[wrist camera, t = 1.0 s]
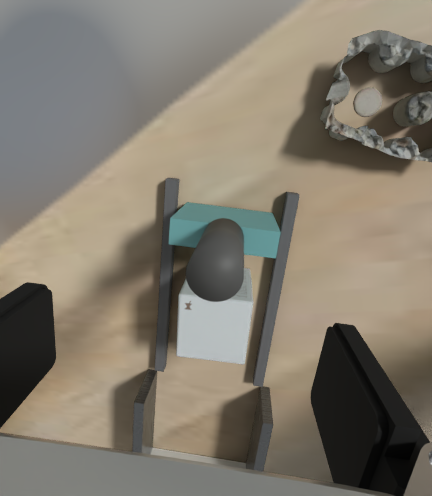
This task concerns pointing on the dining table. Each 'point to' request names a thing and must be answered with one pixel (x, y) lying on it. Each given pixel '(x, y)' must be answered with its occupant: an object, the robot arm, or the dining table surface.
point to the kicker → (221, 245)
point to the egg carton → (370, 99)
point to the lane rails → (274, 287)
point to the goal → (144, 444)
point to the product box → (215, 325)
